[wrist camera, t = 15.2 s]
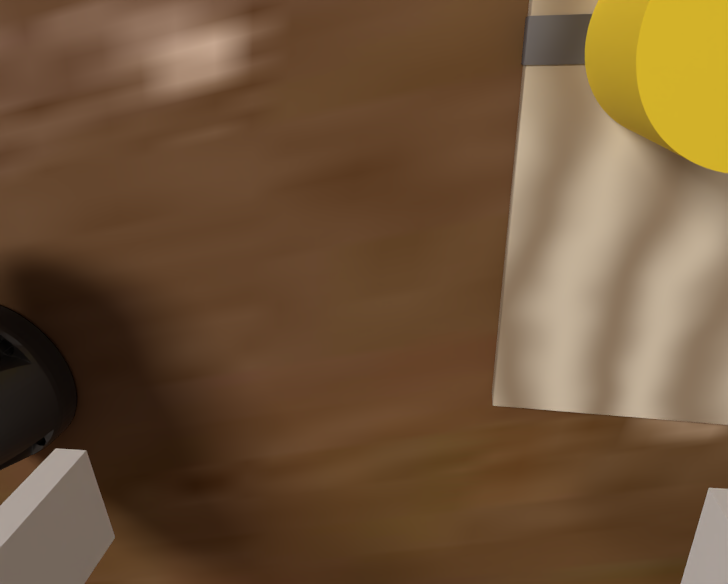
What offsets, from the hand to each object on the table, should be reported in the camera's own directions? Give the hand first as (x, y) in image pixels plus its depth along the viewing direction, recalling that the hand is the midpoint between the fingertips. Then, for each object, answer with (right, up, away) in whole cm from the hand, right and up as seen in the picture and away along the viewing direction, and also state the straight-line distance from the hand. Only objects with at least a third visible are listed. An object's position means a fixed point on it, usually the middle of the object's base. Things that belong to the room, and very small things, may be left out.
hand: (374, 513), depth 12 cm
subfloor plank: (+17, +12, +20) cm, 29 cm away
